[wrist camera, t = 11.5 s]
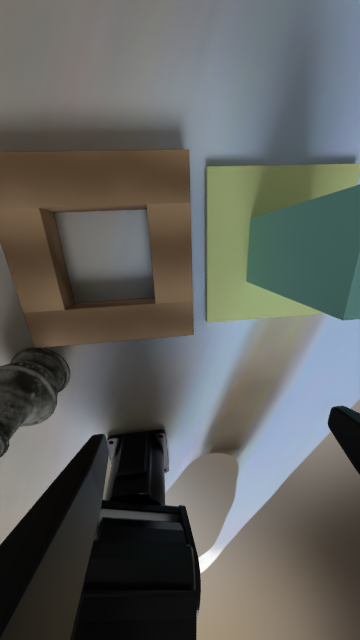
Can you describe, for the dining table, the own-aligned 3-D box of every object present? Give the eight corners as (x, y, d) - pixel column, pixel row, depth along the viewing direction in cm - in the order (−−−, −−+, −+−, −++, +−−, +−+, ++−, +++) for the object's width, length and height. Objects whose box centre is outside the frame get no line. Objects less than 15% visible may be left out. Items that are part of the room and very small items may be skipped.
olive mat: (324, 310, 20) (329, 312, 20) (205, 320, 19) (207, 322, 19) (354, 166, 16) (361, 163, 16) (205, 169, 15) (207, 166, 15)
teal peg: (300, 278, 18) (449, 311, 9) (246, 281, 18) (343, 320, 8) (310, 215, 17) (508, 175, 7) (250, 218, 16) (377, 179, 7)
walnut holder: (190, 326, 19) (193, 334, 18) (47, 337, 18) (34, 348, 17) (185, 161, 15) (189, 149, 13) (-4, 164, 14) (-29, 152, 12)
